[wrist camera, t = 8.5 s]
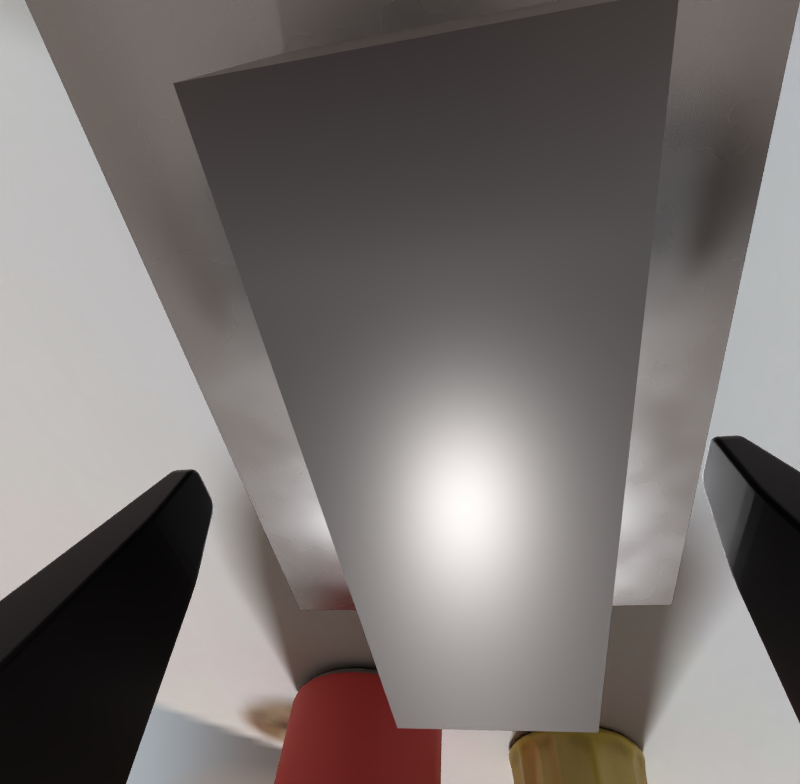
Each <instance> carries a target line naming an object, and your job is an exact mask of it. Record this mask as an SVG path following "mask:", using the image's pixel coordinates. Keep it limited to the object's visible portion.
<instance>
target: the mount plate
mask: <svg viewBox="0 0 800 784" xmlns="http://www.w3.org/2000/svg"><path fill="white" fill-rule="evenodd" d="M25 1H26V3H27V5H28V8H29V10H30V12H31V14H32V17H33V19H34V21H35V23H36V25H37V28H38V30H39V32H40V34H41V37H42V39H43V41H44V43H45V45H46V48H47V50H48V52H49V54H50V56H51V59H52V61H53V63H54V65H55V68H56V70H57V72H58V74H59V76H60V79H61V81H62V83H63V85H64V88H65V90H66V92H67V94H68V96H69V99H70V101H71V103H72V105H73V107H74V110H75V112H76V114H77V116H78V119H79V121H80V123H81V125H82V127H83V130H84V132H85V134H86V136H87V139H88V141H89V143H90V145H91V147H92V150H93V152H94V154H95V156H96V158H97V161H98V163H99V165H100V167H101V170H102V172H103V174H104V176H105V178H106V181H107V183H108V185H109V187H110V190H111V192H112V194H113V196H114V198H115V201H116V203H117V205H118V207H119V209H120V212H121V214H122V216H123V218H124V221H125V223H126V225H127V227H128V229H129V232H130V234H131V236H132V238H133V241H134V243H135V245H136V247H137V249H138V252H139V254H140V256H141V258H142V260H143V263H144V265H145V267H146V269H147V272H148V274H149V276H150V278H151V280H152V283H153V285H154V287H155V289H156V291H157V294H158V296H159V298H160V300H161V303H162V305H163V307H164V309H165V311H166V314H167V316H168V318H169V320H170V323H171V325H172V327H173V329H174V331H175V334H176V336H177V338H178V340H179V342H180V345H181V347H182V349H183V351H184V354H185V356H186V358H187V360H188V362H189V365H190V367H191V369H192V371H193V374H194V376H195V378H196V380H197V382H198V385H199V387H200V389H201V391H202V393H203V396H204V398H205V400H206V402H207V405H208V407H209V409H210V411H211V413H212V416H213V418H214V420H215V422H216V425H217V427H218V429H219V431H220V433H221V436H222V438H223V440H224V442H225V444H226V447H227V449H228V451H229V453H230V456H231V458H232V460H233V462H234V464H235V467H236V469H237V471H238V473H239V476H240V478H241V480H242V482H243V484H244V487H245V489H246V491H247V493H248V495H249V498H250V500H251V502H252V504H253V507H254V509H255V511H256V513H257V515H258V518H259V520H260V522H261V524H262V527H263V529H264V531H265V533H266V535H267V538H268V540H269V542H270V544H271V546H272V549H273V551H274V553H275V555H276V558H277V560H278V562H279V564H280V566H281V569H282V571H283V573H284V575H285V578H286V580H287V582H288V584H289V586H290V589H291V591H292V593H293V595H294V597H295V600H296V602H297V604H298V606H299V609H300V610H354V609H356V607H355V605H354V602H353V599H352V596H351V593H350V590H349V587H348V584H347V582H346V579H345V576H344V573H343V570H342V567H341V564H340V561H339V559H338V556H337V553H336V550H335V547H334V544H333V541H332V538H331V536H330V533H329V530H328V527H327V524H326V521H325V518H324V515H323V513H322V510H321V507H320V504H319V501H318V498H317V495H316V492H315V490H314V487H313V484H312V481H311V478H310V475H309V472H308V469H307V467H306V464H305V461H304V458H303V455H302V452H301V449H300V446H299V444H298V441H297V438H296V435H295V432H294V429H293V426H292V424H291V421H290V418H289V415H288V412H287V409H286V406H285V403H284V401H283V398H282V395H281V392H280V389H279V386H278V383H277V380H276V378H275V375H274V372H273V369H272V366H271V363H270V360H269V357H268V355H267V352H266V349H265V346H264V343H263V340H262V337H261V334H260V332H259V329H258V326H257V323H256V320H255V317H254V314H253V311H252V309H251V306H250V303H249V300H248V297H247V294H246V291H245V288H244V286H243V283H242V280H241V277H240V274H239V271H238V268H237V265H236V263H235V260H234V257H233V254H232V251H231V248H230V245H229V242H228V240H227V237H226V234H225V231H224V228H223V225H222V222H221V219H220V217H219V214H218V211H217V208H216V205H215V202H214V199H213V197H212V194H211V191H210V188H209V185H208V182H207V179H206V176H205V174H204V171H203V168H202V165H201V162H200V159H199V156H198V153H197V151H196V148H195V145H194V142H193V139H192V136H191V133H190V130H189V128H188V125H187V122H186V119H185V116H184V113H183V110H182V107H181V105H180V102H179V99H178V96H177V93H176V90H175V87H174V84H173V83H176V82H180V81H183V80H187V79H190V78H194V77H198V76H201V75H205V74H209V73H212V72H216V71H220V70H223V69H227V68H231V67H234V66H238V65H242V64H245V63H249V62H253V61H256V60H260V59H264V58H267V57H271V56H275V55H278V54H282V53H286V52H291V51H296V50H302V49H307V48H312V47H317V46H323V45H328V44H333V43H338V42H344V41H349V40H354V39H360V38H365V37H370V36H375V35H381V34H386V33H391V32H396V31H402V30H407V29H412V28H417V27H423V26H428V25H433V24H439V23H444V22H449V21H454V20H460V19H465V18H470V17H475V16H481V15H486V14H491V13H497V12H502V11H507V10H512V9H518V8H523V7H528V6H533V5H539V4H544V3H549V2H554V1H560V0H25ZM799 2H800V0H679V2H678V11H677V21H676V30H675V39H674V48H673V57H672V66H671V75H670V84H669V93H668V103H667V112H666V121H665V130H664V139H663V148H662V157H661V166H660V176H659V185H658V194H657V203H656V212H655V221H654V230H653V239H652V248H651V258H650V267H649V276H648V285H647V294H646V303H645V312H644V321H643V331H642V340H641V349H640V358H639V367H638V376H637V385H636V394H635V403H634V413H633V422H632V431H631V440H630V449H629V458H628V467H627V476H626V486H625V495H624V504H623V513H622V522H621V531H620V540H619V549H618V558H617V568H616V577H615V586H614V595H613V604H612V606H617V605H672V600H673V596H674V591H675V586H676V582H677V577H678V572H679V567H680V563H681V558H682V553H683V549H684V544H685V539H686V534H687V530H688V525H689V520H690V516H691V511H692V506H693V501H694V497H695V492H696V487H697V483H698V478H699V473H700V468H701V464H702V459H703V454H704V450H705V445H706V440H707V435H708V431H709V426H710V421H711V417H712V412H713V407H714V402H715V398H716V393H717V388H718V384H719V379H720V374H721V369H722V365H723V360H724V355H725V351H726V346H727V341H728V336H729V332H730V327H731V322H732V318H733V313H734V308H735V303H736V299H737V294H738V289H739V285H740V280H741V275H742V271H743V266H744V261H745V256H746V252H747V247H748V242H749V238H750V233H751V228H752V223H753V219H754V214H755V209H756V205H757V200H758V195H759V190H760V186H761V181H762V176H763V172H764V167H765V162H766V157H767V153H768V148H769V143H770V139H771V134H772V129H773V124H774V120H775V115H776V110H777V106H778V101H779V96H780V91H781V87H782V82H783V77H784V73H785V68H786V63H787V58H788V54H789V49H790V44H791V40H792V35H793V30H794V25H795V21H796V16H797V11H798V7H799Z"/></svg>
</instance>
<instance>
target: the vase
mask: <svg viewBox="0 0 800 784" xmlns="http://www.w3.org/2000/svg"><path fill="white" fill-rule="evenodd" d="M509 761H510V764H511V768H512V773H513V779H514V784H647V778H646V771H645V758H644V755H643V753H642V751H641V750H640V749H639V747H638V746H637V745H636V744H635V743H633V742H632V741H631V740H629V739H627V738H626V737H624V736H623V735H621V734H618V733H616V732H613V731H609V730H606V729H601V728H599V732H598V733H597V732H551V731H534V732H531V733H529V734H527V735H525V736H523V737H521V738H520V739H518V740H517V741H516V742H515V743H514V745H513V746H512V748H511V750H510V753H509Z"/></svg>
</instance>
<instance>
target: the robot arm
mask: <svg viewBox="0 0 800 784" xmlns="http://www.w3.org/2000/svg"><path fill="white" fill-rule="evenodd" d="M703 485H704V490H705V493H706V496H707V499H708V502H709V505H710V508H711V512H712V515H713V518H714V521H715V524H716V527H717V530H718V533H719V537H720V540H721V543H722V546H723V549H724V552H725V555H726V559H727V561H728V564H729V567H730V570H731V573H732V575H733V578H734V580H735V582H736V585H737V587H738V589H739V591H740V594H741V596H742V598H743V600H744V602H745V604H746V607H747V609H748V611H749V613H750V615H751V618H752V620H753V622H754V624H755V626H756V629H757V631H758V633H759V635H760V637H761V639H762V642H763V644H764V646H765V648H766V650H767V653H768V655H769V657H770V659H771V661H772V663H773V666H774V668H775V670H776V672H777V674H778V677H779V679H780V681H781V683H782V685H783V688H784V690H785V692H786V694H787V696H788V698H789V701H790V703H791V705H792V707H793V709H794V712H795V714H796V716H797V718H798V720H799V723H800V472H799V471H798V470H796V469H794V468H793V467H791V466H789V465H788V464H786V463H785V462H783V461H781V460H780V459H778V458H776V457H775V456H773V455H772V454H770V453H768V452H767V451H765V450H764V449H762V448H760V447H759V446H757V445H755V444H754V443H752V442H751V441H749V440H747V439H746V438H744V437H741V436H722V437H715V438H713V439H712V440H711V441H710V444H709V448H708V452H707V457H706V461H705V466H704V471H703ZM212 514H213V502H212V498H211V496H210V494H209V492H208V490H207V488H206V486H205V484H204V482H203V481H202V479H201V477H200V475H199V473H198V472H197V471H195V470H191V469H190V470H176V471H173V472H171V473H170V474H168V475H167V476H166V477H164V478H163V479H162V480H160V481H159V482H158V483H156V484H155V485H154V486H152V487H151V488H150V489H148V490H147V491H146V492H144V493H143V494H142V495H140V496H139V497H138V498H136V499H135V500H134V501H133V502H131V503H130V504H129V505H127V506H126V507H125V508H123V509H122V510H121V511H119V512H118V513H117V514H115V515H114V516H113V517H111V518H110V519H109V520H107V521H106V522H105V523H103V524H102V525H101V526H99V527H98V528H97V529H95V530H94V531H93V532H91V533H90V534H89V535H87V536H86V537H85V538H83V539H82V540H81V541H79V542H78V543H77V544H75V545H74V546H73V547H71V548H70V549H69V550H67V551H66V552H65V553H63V554H62V555H61V556H59V557H58V558H57V559H55V560H54V561H53V562H51V563H50V564H49V565H47V566H46V567H45V568H43V569H42V570H41V571H39V572H38V573H37V574H35V575H34V576H33V577H31V578H30V579H29V580H28V581H26V582H25V583H24V584H22V585H21V586H20V587H18V588H17V589H16V590H14V591H13V592H12V593H10V594H9V595H8V596H6V597H5V598H4V599H2V600H1V601H0V784H126V782H127V779H128V776H129V774H130V771H131V768H132V765H133V762H134V759H135V756H136V753H137V751H138V748H139V745H140V742H141V739H142V736H143V734H144V731H145V728H146V725H147V722H148V719H149V716H150V714H151V711H152V708H153V705H154V702H155V699H156V697H157V694H158V691H159V688H160V685H161V682H162V679H163V677H164V674H165V671H166V668H167V665H168V662H169V659H170V657H171V654H172V651H173V648H174V645H175V642H176V639H177V637H178V634H179V631H180V628H181V625H182V622H183V620H184V617H185V614H186V611H187V608H188V605H189V602H190V600H191V597H192V593H193V590H194V587H195V584H196V580H197V577H198V573H199V569H200V564H201V560H202V556H203V552H204V547H205V543H206V539H207V535H208V530H209V526H210V522H211V518H212Z"/></svg>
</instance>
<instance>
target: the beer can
mask: <svg viewBox="0 0 800 784" xmlns="http://www.w3.org/2000/svg"><path fill="white" fill-rule="evenodd" d="M441 739H442V729H413V728H397V725H396V722H395V719H394V717H393V714H392V711H391V708H390V705H389V702H388V699H387V696H386V694H385V691H384V688H383V685H382V682H381V679H380V676H379V673H378V671H377V670H375V669H364V668H348V669H337V670H334V671H330V672H327V673H323V674H320V675H318V676H316V677H315V678H313V679H312V680H310V681H309V682H307V683H306V684H305V685H303V686H302V687H301V688H300V690H299V691H298V693H297V695H296V697H295V699H294V701H293V705H292V710H291V714H290V718H289V722H288V727H287V731H286V735H285V739H284V744H283V748H282V752H281V757H280V761H279V765H278V769H277V773H276V779H275V782H274V784H441Z"/></svg>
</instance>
